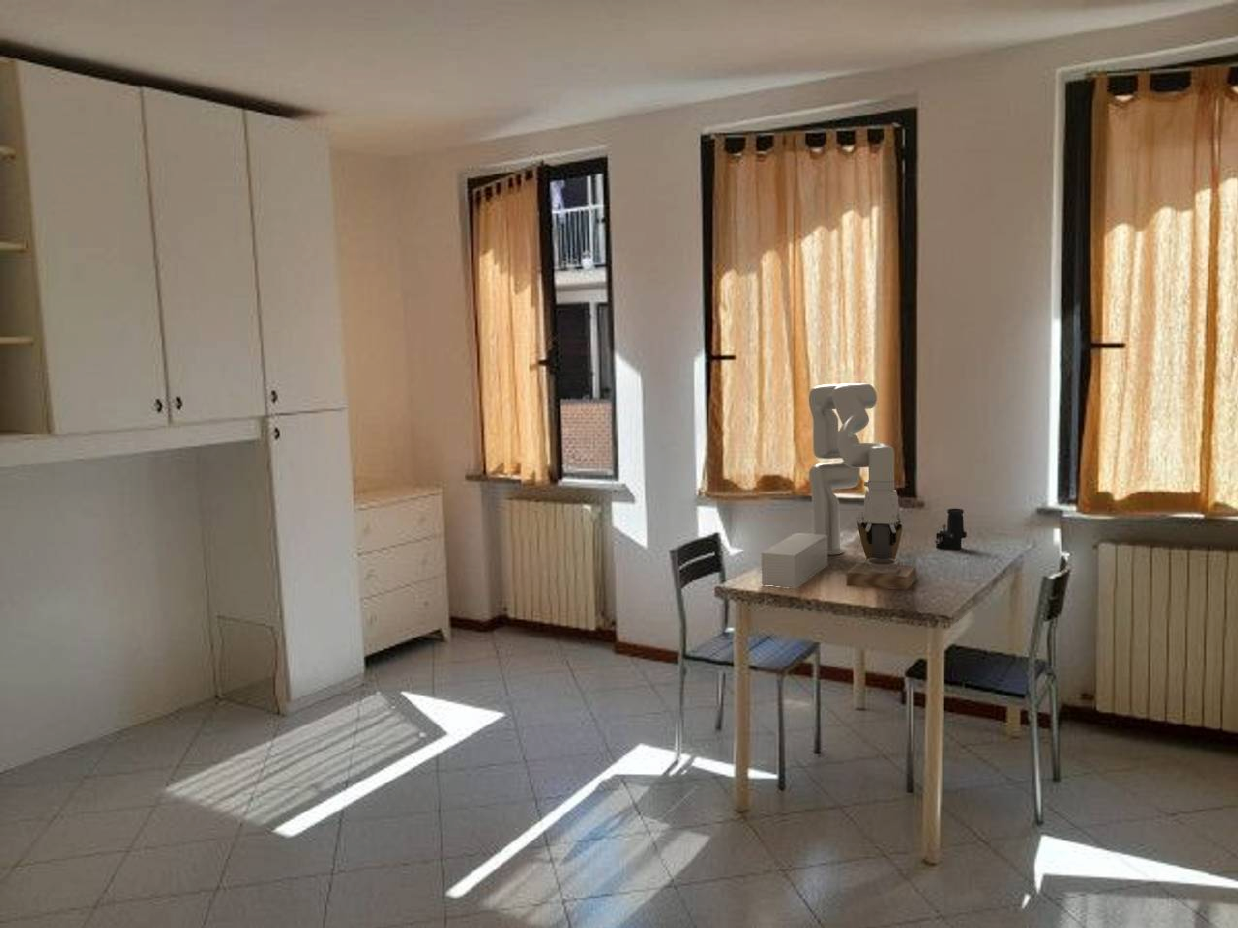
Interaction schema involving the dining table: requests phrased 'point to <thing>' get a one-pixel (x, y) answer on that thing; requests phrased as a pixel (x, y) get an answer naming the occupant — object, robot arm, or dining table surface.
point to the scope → (952, 531)
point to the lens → (881, 541)
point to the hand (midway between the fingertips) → (881, 543)
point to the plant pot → (868, 547)
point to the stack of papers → (794, 560)
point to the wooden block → (881, 574)
